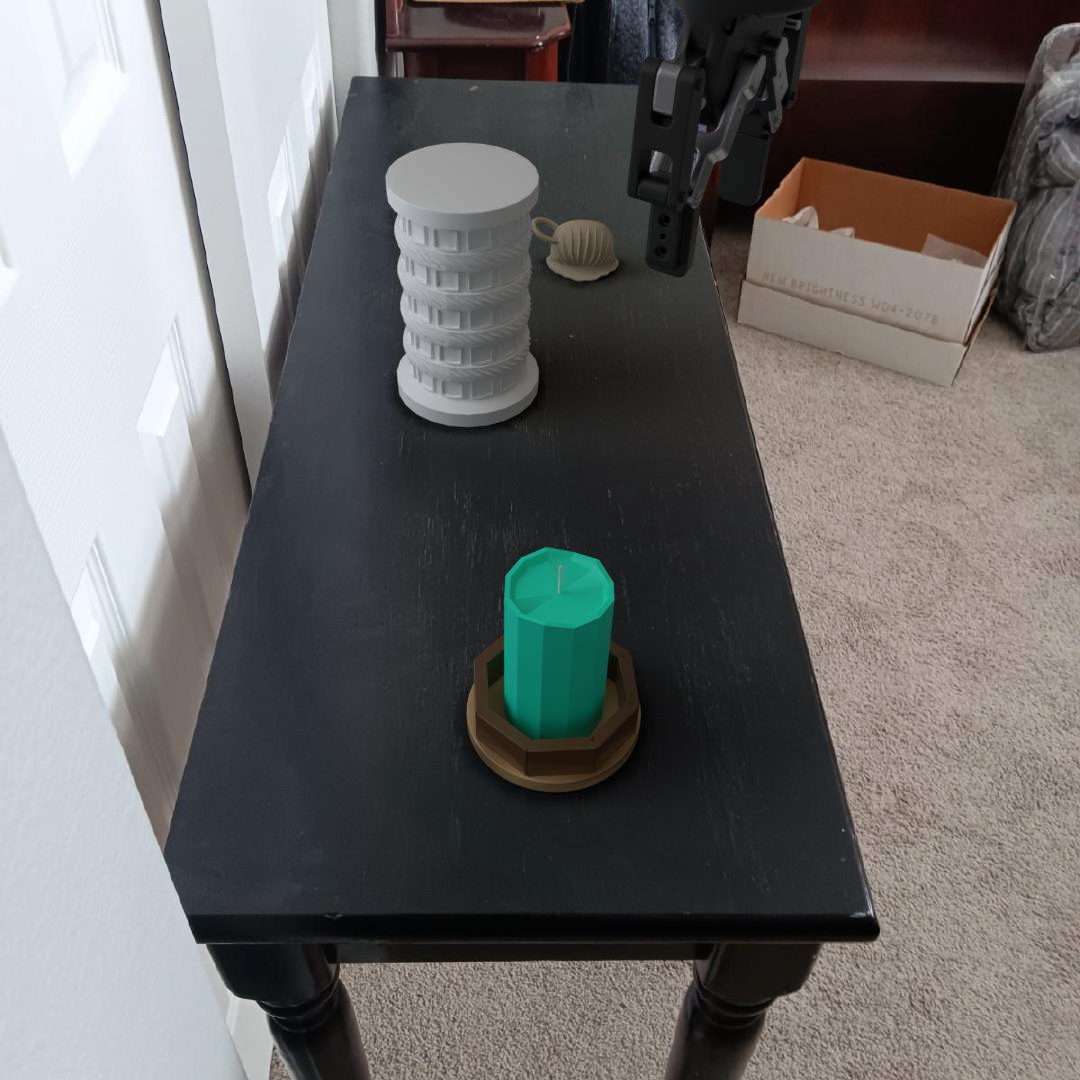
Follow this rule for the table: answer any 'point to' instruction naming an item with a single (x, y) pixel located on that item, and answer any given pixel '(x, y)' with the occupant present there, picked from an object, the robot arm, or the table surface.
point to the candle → (556, 643)
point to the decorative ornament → (579, 249)
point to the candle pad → (553, 759)
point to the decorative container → (465, 281)
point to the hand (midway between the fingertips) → (704, 233)
